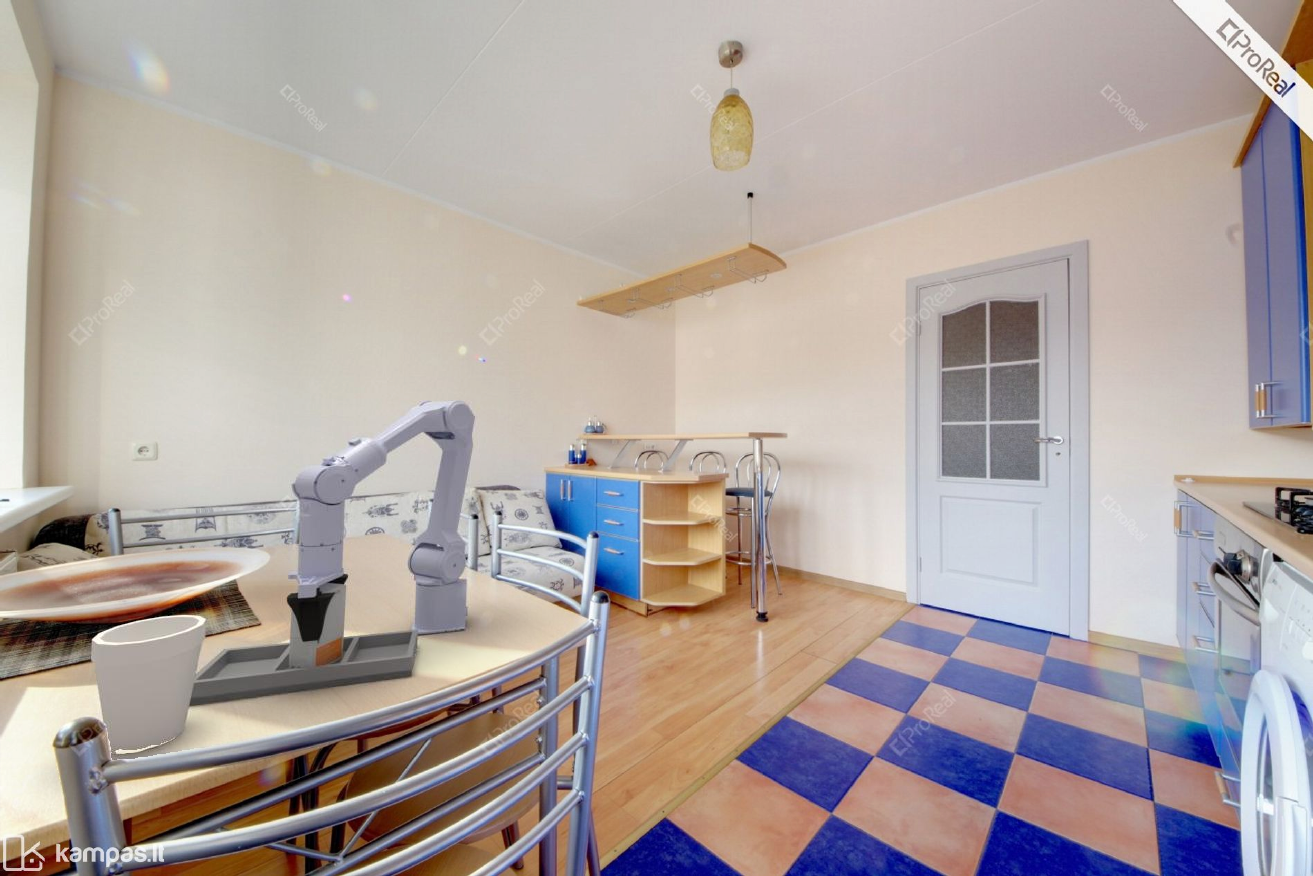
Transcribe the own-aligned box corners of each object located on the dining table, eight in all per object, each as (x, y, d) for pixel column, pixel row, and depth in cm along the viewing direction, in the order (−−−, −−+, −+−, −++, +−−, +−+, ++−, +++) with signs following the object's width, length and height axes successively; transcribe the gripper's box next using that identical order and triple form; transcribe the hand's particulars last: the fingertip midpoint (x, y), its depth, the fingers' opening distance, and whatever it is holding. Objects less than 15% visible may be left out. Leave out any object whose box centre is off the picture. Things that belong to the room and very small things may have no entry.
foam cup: (171, 710, 64) (175, 611, 65) (220, 724, 62) (224, 620, 62) (67, 753, 55) (71, 638, 55) (119, 771, 53) (124, 650, 53)
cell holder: (417, 646, 86) (417, 629, 86) (410, 676, 75) (411, 656, 75) (223, 668, 76) (224, 649, 76) (183, 706, 65) (184, 684, 65)
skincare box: (312, 676, 72) (315, 595, 73) (287, 673, 73) (290, 593, 73) (344, 658, 78) (347, 583, 79) (321, 656, 79) (323, 581, 79)
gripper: (304, 535, 81) (301, 617, 81) (273, 554, 68) (269, 653, 68) (353, 533, 84) (351, 613, 84) (333, 551, 70) (329, 646, 70)
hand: (318, 630), depth 76 cm, fingers closed on skincare box, 7 cm apart
